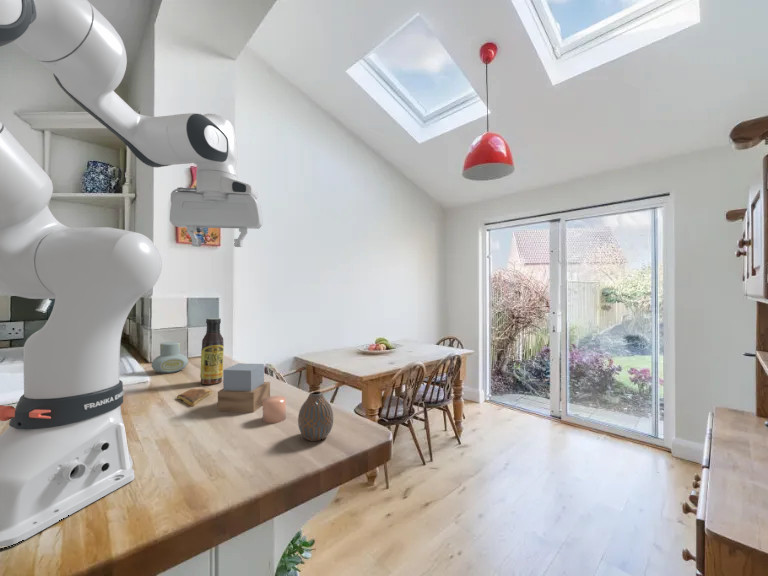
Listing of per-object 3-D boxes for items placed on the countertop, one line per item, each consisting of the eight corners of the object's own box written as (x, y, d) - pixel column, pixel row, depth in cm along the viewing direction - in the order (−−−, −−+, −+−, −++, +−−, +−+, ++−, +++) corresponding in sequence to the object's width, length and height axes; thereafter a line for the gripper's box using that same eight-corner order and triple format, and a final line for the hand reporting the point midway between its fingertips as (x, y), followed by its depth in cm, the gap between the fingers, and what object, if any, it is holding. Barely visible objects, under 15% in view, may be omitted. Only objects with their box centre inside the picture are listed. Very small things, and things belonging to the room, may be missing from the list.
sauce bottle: (202, 386, 102) (202, 319, 102) (198, 382, 107) (197, 318, 107) (226, 382, 106) (226, 318, 106) (221, 378, 111) (220, 317, 111)
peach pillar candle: (280, 424, 75) (280, 403, 75) (258, 423, 75) (258, 402, 75) (289, 415, 80) (289, 396, 80) (268, 414, 80) (268, 395, 80)
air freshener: (185, 366, 127) (185, 339, 127) (190, 371, 121) (190, 342, 121) (150, 371, 120) (150, 343, 120) (153, 376, 114) (153, 346, 114)
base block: (253, 413, 82) (253, 392, 82) (217, 412, 83) (217, 391, 83) (270, 400, 91) (269, 381, 91) (237, 399, 92) (237, 381, 92)
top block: (251, 391, 83) (251, 370, 83) (223, 390, 83) (223, 369, 83) (264, 383, 90) (263, 363, 90) (238, 382, 90) (238, 363, 90)
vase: (340, 434, 70) (340, 390, 70) (317, 447, 64) (317, 400, 64) (314, 427, 73) (314, 385, 73) (290, 439, 67) (290, 394, 67)
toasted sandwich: (193, 408, 85) (193, 401, 85) (161, 409, 85) (161, 402, 85) (213, 395, 96) (213, 388, 96) (186, 395, 96) (186, 388, 96)
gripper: (163, 183, 78) (164, 244, 78) (257, 186, 80) (258, 245, 80) (177, 190, 84) (177, 247, 84) (264, 193, 87) (264, 248, 87)
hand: (217, 246), depth 82 cm, fingers open, 8 cm apart
